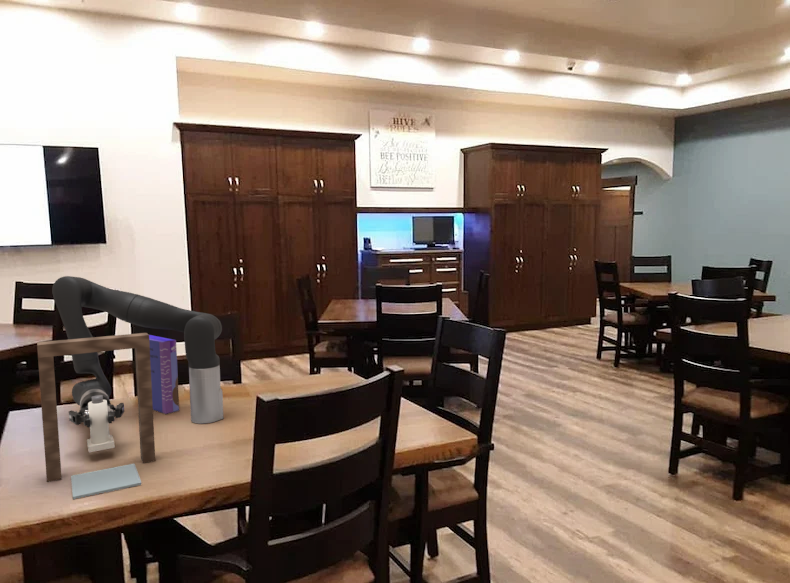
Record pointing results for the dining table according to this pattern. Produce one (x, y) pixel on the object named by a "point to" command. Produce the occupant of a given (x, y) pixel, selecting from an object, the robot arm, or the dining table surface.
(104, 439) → the white tall cylinder
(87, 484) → the mat
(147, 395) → the archway
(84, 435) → the dining table surface
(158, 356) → the cereal box
